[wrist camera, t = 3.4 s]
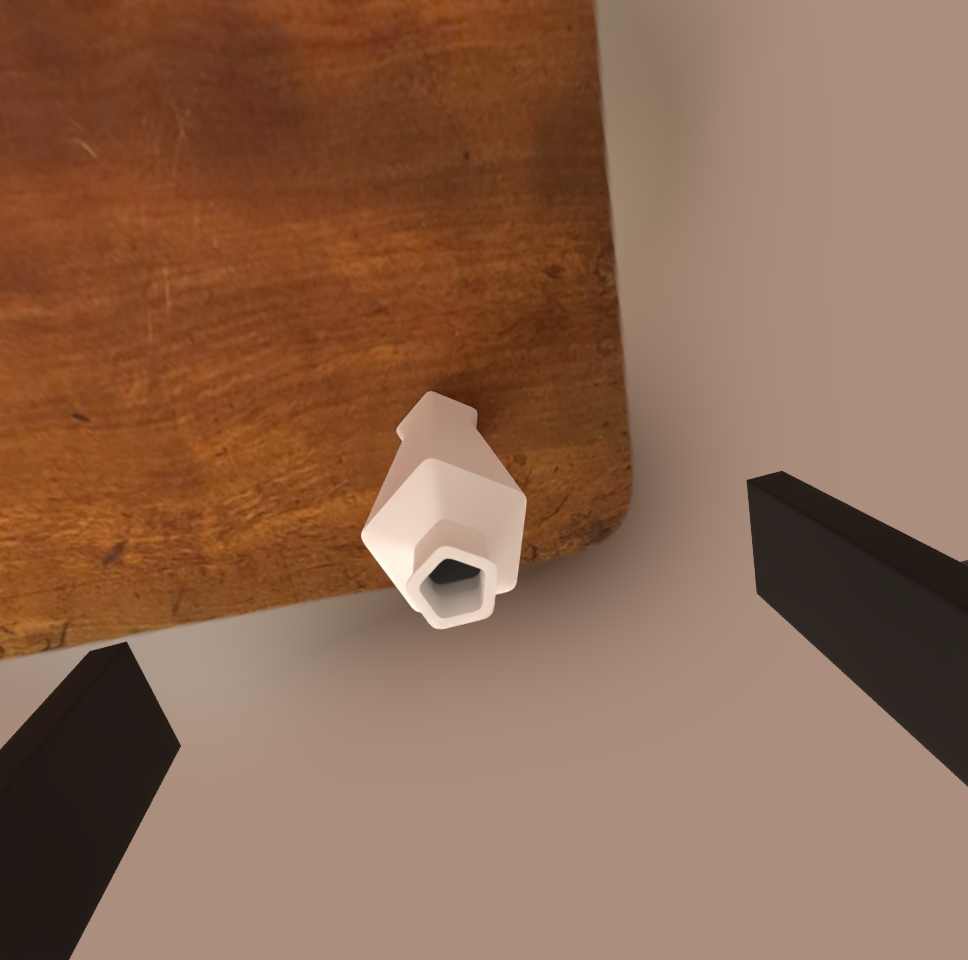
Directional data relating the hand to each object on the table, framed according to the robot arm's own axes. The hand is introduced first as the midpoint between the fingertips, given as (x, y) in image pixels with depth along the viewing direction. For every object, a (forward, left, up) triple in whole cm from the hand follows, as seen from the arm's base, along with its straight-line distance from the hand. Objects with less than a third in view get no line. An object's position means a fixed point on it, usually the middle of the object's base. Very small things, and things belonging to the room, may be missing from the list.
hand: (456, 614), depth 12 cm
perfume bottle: (0, 0, -16) cm, 16 cm away
